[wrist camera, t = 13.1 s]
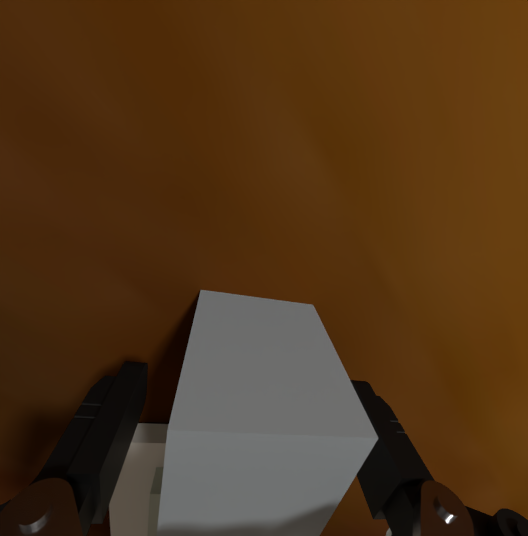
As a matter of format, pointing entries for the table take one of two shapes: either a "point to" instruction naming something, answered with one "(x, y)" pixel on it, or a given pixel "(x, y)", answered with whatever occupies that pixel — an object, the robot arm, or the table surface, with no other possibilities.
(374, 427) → the robot arm
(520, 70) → the table surface
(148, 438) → the baseplate
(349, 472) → the grey-blue block
